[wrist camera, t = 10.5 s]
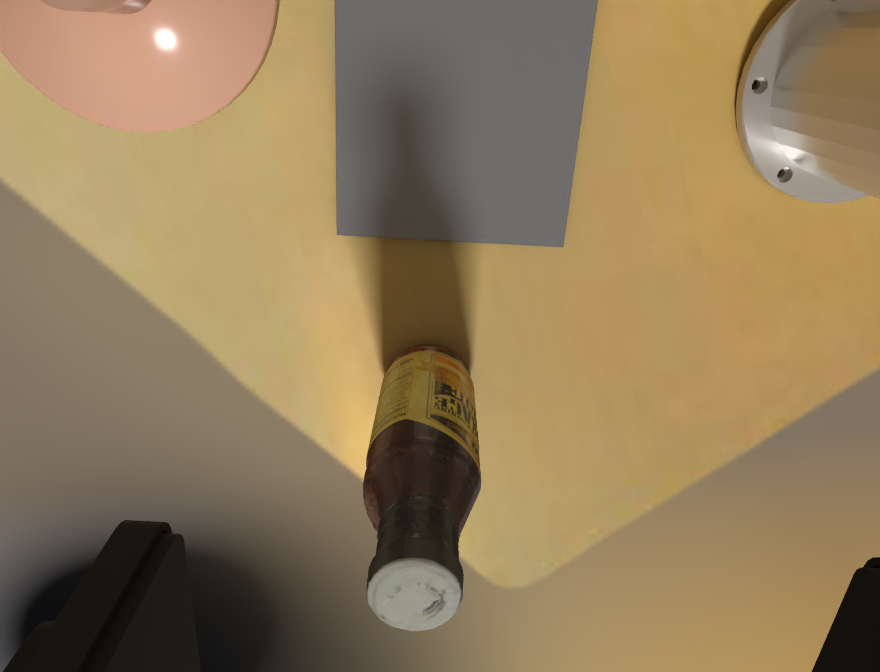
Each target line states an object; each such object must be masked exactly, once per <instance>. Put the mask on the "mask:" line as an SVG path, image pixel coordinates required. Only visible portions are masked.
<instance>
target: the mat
mask: <svg viewBox="0 0 880 672" xmlns="http://www.w3.org/2000/svg"><path fill="white" fill-rule="evenodd" d="M597 3H598V0H335V46H336V180H337V235H347V236H365V237H384V238H402V239H421V240H439V241H458V242H476V243H494V244H513V245H531V246H550V247H563V245H564V238H565V231H566V223H567V216H568V209H569V202H570V195H571V188H572V181H573V174H574V167H575V159H576V152H577V145H578V138H579V131H580V124H581V117H582V110H583V103H584V96H585V88H586V81H587V74H588V67H589V60H590V53H591V46H592V39H593V32H594V24H595V17H596V10H597Z"/></svg>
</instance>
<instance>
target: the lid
mask: <svg viewBox="0 0 880 672" xmlns="http://www.w3.org/2000/svg"><path fill="white" fill-rule="evenodd" d="M278 11H279V0H0V51H1V52H2V53H3V55H4V56H5V57H6V58H7V60H8V61H9V62H10V63H11V65H12V66H13V67H14V68H15V69H16V70H17V71H18V72H19V73H20V74H21V75H22V76H23V77H24V78H25V79H26V80H27V81H28V82H29V83H30V84H31V85H32V86H34V87H35V88H36V89H37V90H38V91H40V92H41V93H42V94H43V95H44V96H46V97H47V98H49V99H50V100H52V101H53V102H55V103H56V104H58V105H59V106H61V107H62V108H64V109H66V110H68V111H70V112H71V113H73V114H75V115H77V116H79V117H81V118H83V119H86V120H88V121H91V122H94V123H96V124H99V125H102V126H106V127H110V128H114V129H118V130H124V131H132V132H161V131H168V130H175V129H178V128H182V127H185V126H188V125H191V124H194V123H197V122H200V121H202V120H204V119H206V118H208V117H210V116H212V115H215V114H216V113H218V112H219V111H221V110H222V109H224V108H225V107H227V106H228V105H230V104H231V103H232V102H233V101H234V100H235V99H236V98H237V97H238V96H240V95H241V94H242V93H243V92H244V90H245V89H246V88H247V87H248V85H249V84H250V83H251V82H252V81H253V79H254V78H255V76H256V75H257V73H258V71H259V70H260V68H261V66H262V65H263V63H264V61H265V58H266V56H267V53H268V51H269V49H270V46H271V44H272V40H273V36H274V33H275V29H276V25H277V18H278Z"/></svg>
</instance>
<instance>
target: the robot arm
mask: <svg viewBox="0 0 880 672" xmlns="http://www.w3.org/2000/svg"><path fill="white" fill-rule="evenodd" d="M754 80H756V82H757V85H756V87H755V88H754V89H752V84H753V82H754ZM736 122H737V133H738V136H739V139H740V142H741V146H742V149H743V152H744V154H745V155H746V157H747V159H748V161H749V162H750V164H751V166H752V168H753V169H754V170H755V171H756V172H757V173H758V174H759V175H760V176H761V177H762V178H763V180H764V181H766V182H767V183H769V184H770V185H772V186H773V187H775V188H776V189H777V190H779V191H781V192H783V193H786V194H788V195H790V196H792V197H794V198H798V199H802V200H805V201H809V202H813V203H831V204H833V203H840V202H848V201H854V200H857V199H861V198H864V197H867V196H870V195H871V196H873V197H876V198H879V199H880V0H790V1H789V2H787V3H786V4H785V5H784V6H783V7H782V8H781V10H780V11H779V12H778V13H777V14H776V15H775V16H774V17H773V18H772V19H771V21H770V22H769V23H768V24H767V26H766V27H765V29H764V30H763V32H762V33H761V35H760V36H759V38H758V39H757V41H756V42H755V44H754V46H753V48H752V50H751V52H750V54H749V57H748V59H747V61H746V63H745V65H744V68H743V72H742V75H741V79H740V83H739V86H738V91H737V101H736ZM780 170H781V174H780V175H779V176H777V175H778V173H779V171H780ZM3 672H200V663H199V655H198V647H197V639H196V631H195V623H194V615H193V608H192V600H191V592H190V584H189V576H188V568H187V559H186V551H185V544H184V539H183V536H182V535H181V534H172V531H171V527H170V525H169V524H168V523H166V522H150V521H130V520H125V521H123V522H121V523H120V524H119V525H118V526H117V528H116V529H115V530H114V532H113V533H112V535H111V536H110V538H109V540H108V541H107V543H106V544H105V546H104V547H103V549H102V550H101V552H100V553H99V555H98V556H97V558H96V559H95V561H94V562H93V564H92V566H91V567H90V569H89V570H88V572H87V573H86V575H85V576H84V578H83V579H82V581H81V582H80V584H79V585H78V587H77V588H76V590H75V592H74V593H73V595H72V596H71V598H70V600H69V601H68V602H67V604H66V606H65V607H64V608H63V610H62V611H61V613H60V614H59V616H58V618H57V619H56V621H48V622H43V623H41V624H40V625H38V626H37V627H36V628H34V629H33V631H32V632H31V633H30V635H28V637H27V638H26V639H25V640H24V642H23V643H22V645H21V646H20V648H19V649H18V651H17V652H16V653H15V655H14V656H13V658H12V659H11V661H10V662H9V664H8V665H7V667H6V668H5V670H4V671H3ZM812 672H880V558H879V557H877V558H872V559H870V560H868V561H867V562H866V564H865V565H864V567H863V568H859V569H857V570H856V572H855V573H854V575H853V577H852V580H851V582H850V584H849V587H848V589H847V591H846V594H845V596H844V598H843V601H842V603H841V605H840V607H839V610H838V612H837V615H836V617H835V619H834V622H833V624H832V626H831V629H830V631H829V633H828V635H827V638H826V640H825V642H824V644H823V647H822V649H821V652H820V654H819V656H818V658H817V661H816V663H815V665H814V668H813V670H812Z"/></svg>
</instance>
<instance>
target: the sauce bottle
mask: <svg viewBox="0 0 880 672" xmlns="http://www.w3.org/2000/svg"><path fill="white" fill-rule="evenodd" d="M366 467H367V469H366V472H365V477H364V483H363V498H364V504H365V507H366V510H367V515H368V517H369V518H370V520H371V522H372V524H373V526H374V528H375V530H377V532H378V533H377V539H378V543H377V550H376V555H375V557H374V558H373V559H372V562H371V564H370V567H369V571H368V579H367V599H368V603H369V605H370V607H371V608H372V609H373V611H374V612H375V613H376V615H377V616H378V617H379V618H380V619H381V620H382V621H384V622H385V623H387V624H389V625H390V626H393V627H396V628H402V629H405V630H410V631H420V630H427V629H432V628H436V627H438V626H440V625H441V624H443V623H445V622H447V620H449V619H451V617H452V616H453V615H454V613H455V612H456V610H457V609H458V607H459V605H460V603H461V601H462V596H463V576H464V575H463V570H462V566H461V564H460V561H459V551H458V542H459V537H460V533H461V531H462V529H463V527H464V525H465V522H466V520H467V518H468V516H469V514H470V511H471V509H472V507H473V505H474V503H475V501H476V498H477V496H478V494H479V491H480V488H481V472H480V460H479V444H478V431H477V420H476V408H475V395H474V387H473V383H472V379H471V377H470V373H469V372H468V369H467V367H466V366H465V364H463V362H462V361H461V360H460V359H459V358H458V357H457V356H455V355H454V354H452V353H451V352H450V351H448V350H447V349H445V348H441V347H437V346H421V347H414V348H410V349H408V350H407V351H405V352H403V353H402V354H400V356H398V357H397V358H396V359H395V360H394V361H393V363H392V364H391V365H390V367H388V369H387V371H386V373H385V375H384V379H383V382H382V386H381V391H380V396H379V401H378V405H377V410H376V415H375V420H374V425H373V429H372V434H371V439H370V444H369V448H368V453H367V459H366Z"/></svg>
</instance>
